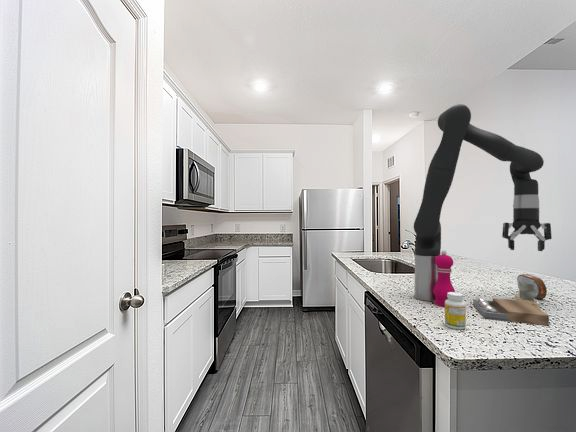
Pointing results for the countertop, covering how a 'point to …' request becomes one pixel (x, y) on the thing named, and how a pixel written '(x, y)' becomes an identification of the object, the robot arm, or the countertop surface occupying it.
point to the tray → (490, 314)
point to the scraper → (526, 293)
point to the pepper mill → (443, 278)
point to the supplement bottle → (455, 311)
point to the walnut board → (521, 311)
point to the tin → (539, 285)
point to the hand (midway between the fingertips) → (526, 250)
